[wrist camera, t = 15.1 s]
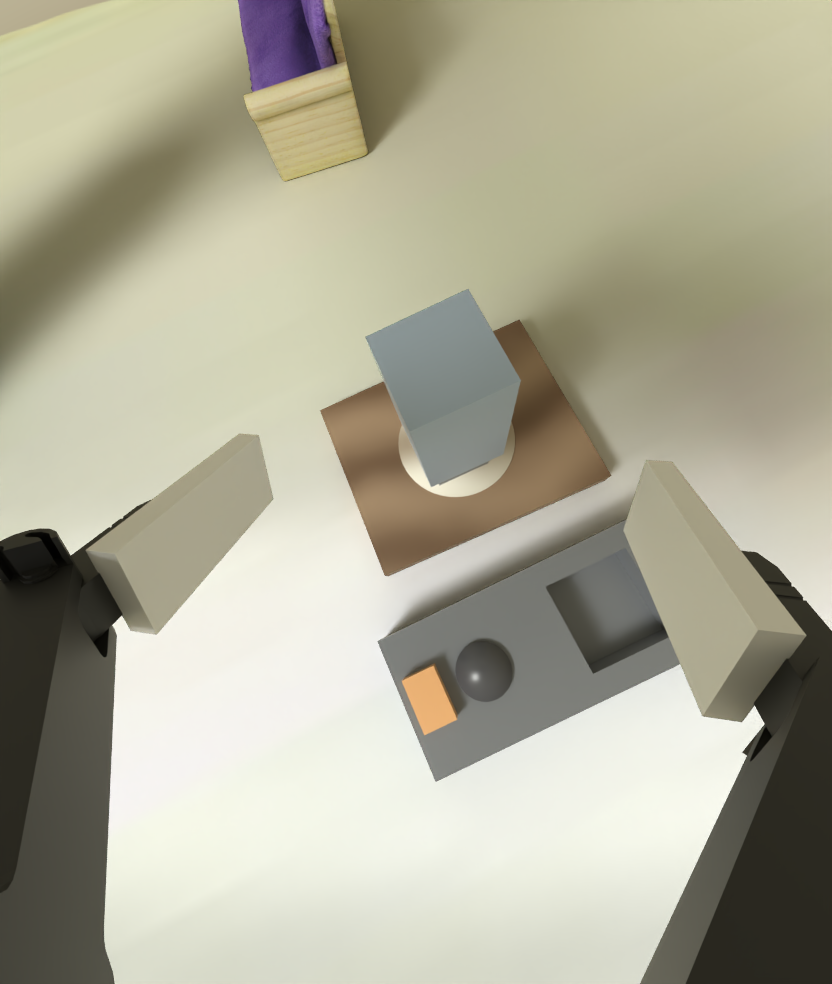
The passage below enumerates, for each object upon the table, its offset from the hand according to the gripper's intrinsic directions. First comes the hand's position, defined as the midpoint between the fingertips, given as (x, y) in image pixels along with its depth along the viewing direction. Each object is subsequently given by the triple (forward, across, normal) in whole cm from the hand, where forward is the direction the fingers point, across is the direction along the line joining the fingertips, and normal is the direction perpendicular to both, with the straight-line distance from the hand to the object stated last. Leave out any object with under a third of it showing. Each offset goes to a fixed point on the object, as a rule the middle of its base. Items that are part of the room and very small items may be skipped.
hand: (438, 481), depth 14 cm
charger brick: (+13, 0, -5) cm, 14 cm away
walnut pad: (+14, 0, -6) cm, 16 cm away
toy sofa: (+40, -18, +19) cm, 47 cm away
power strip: (+6, +6, -14) cm, 17 cm away
